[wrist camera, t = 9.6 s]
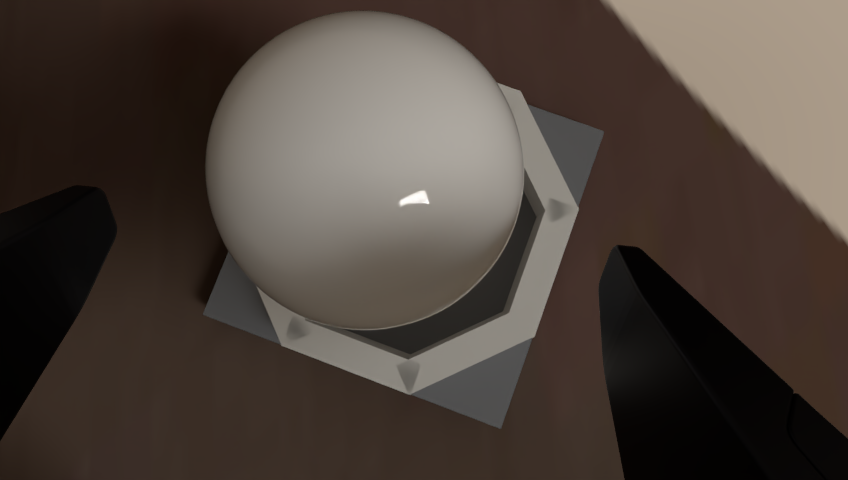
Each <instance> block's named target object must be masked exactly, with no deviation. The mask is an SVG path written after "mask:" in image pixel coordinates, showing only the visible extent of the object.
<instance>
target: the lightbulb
mask: <svg viewBox="0 0 848 480" xmlns="http://www.w3.org/2000/svg"><path fill="white" fill-rule="evenodd" d="M205 179H206V189H207V195H208V200H209V205H210V209H211V212H212V216H213V219H214V222H215V225H216V227H217V230H218V232H219V234H220V236H221V239H222V241H223V243H224V244H225V246H226V248H227V250H228V251H229V253H230V255H231V256H232V258H233V259H234V261H235V262H236V264H237V265H238V266H239V267H240V269H241V270H242V271H243V272H244V274H245V275H246V276H247V277H248V278H249V279H250V280H251V281H252V282H253V283H254V284H255V285H256V286H257V287H258V288H259V289H260V290H261V291H262V292H264V293H265V294H266V295H267V296H269V297H270V298H271V299H273V300H274V301H275V302H277V303H278V304H280V305H281V306H283V307H285V308H286V309H288V310H290V311H292V312H294V313H296V314H298V315H300V316H302V317H304V318H307V319H309V320H312V321H315V322H318V323H321V324H324V325H328V326H333V327H337V328H343V329H351V330H380V329H389V328H395V327H400V326H404V325H408V324H412V323H415V322H418V321H421V320H423V319H426V318H428V317H431V316H433V315H435V314H437V313H439V312H441V311H443V310H445V309H446V308H448V307H450V306H451V305H453V304H454V303H456V302H457V301H459V300H460V299H461V298H463V297H464V296H465V295H466V294H468V293H469V292H470V291H471V290H472V289H473V288H474V287H475V286H476V285H477V284H478V283H479V282H480V281H481V280H482V279H483V278H484V277H485V276H486V275H487V274H488V272H489V271H490V270H491V269H492V267H493V266H494V265H495V263H496V262H497V260H498V259H499V257H500V256H501V254H502V252H503V251H504V249H505V247H506V245H507V243H508V241H509V239H510V237H511V235H512V232H513V230H514V227H515V224H516V221H517V218H518V215H519V211H520V207H521V202H522V195H523V187H524V159H523V151H522V144H521V140H520V135H519V131H518V127H517V124H516V121H515V118H514V116H513V113H512V111H511V108H510V106H509V104H508V102H507V100H506V98H505V96H504V94H503V92H502V90H501V89H500V87H499V85H498V84H497V82H496V81H495V80H494V78H493V77H492V75H491V74H490V73H489V72H488V70H487V69H486V68H485V67H484V66H483V64H482V63H481V62H480V61H479V60H478V59H477V58H476V57H475V56H474V55H473V54H472V53H471V52H469V51H468V50H467V49H466V48H465V47H464V46H462V45H461V44H460V43H459V42H457V41H456V40H454V39H453V38H452V37H450V36H448V35H447V34H445V33H444V32H442V31H440V30H438V29H436V28H434V27H432V26H430V25H428V24H426V23H423V22H421V21H418V20H416V19H413V18H409V17H406V16H402V15H398V14H393V13H388V12H380V11H364V10H360V11H344V12H337V13H332V14H327V15H323V16H319V17H316V18H313V19H310V20H307V21H305V22H302V23H300V24H298V25H295V26H293V27H291V28H289V29H287V30H286V31H284V32H282V33H281V34H279V35H277V36H276V37H274V38H273V39H271V40H270V41H269V42H267V43H266V44H265V45H263V46H262V47H261V48H260V49H259V50H258V51H256V52H255V53H254V54H253V55H252V56H251V57H250V58H249V59H248V60H247V61H246V63H245V64H244V65H243V66H242V67H241V68H240V70H239V71H238V72H237V73H236V75H235V76H234V78H233V79H232V81H231V82H230V84H229V85H228V87H227V89H226V90H225V92H224V94H223V96H222V98H221V100H220V102H219V104H218V107H217V109H216V112H215V114H214V117H213V120H212V124H211V127H210V131H209V135H208V141H207V147H206V157H205Z"/></svg>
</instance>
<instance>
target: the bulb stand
mask: <svg viewBox="0 0 848 480" xmlns="http://www.w3.org/2000/svg"><path fill="white" fill-rule="evenodd" d="M497 84H498V83H497ZM498 85H499V87H500V89H501V90H502V92H503V94H504V96H505V98H506V100H507V102H508V104H509V106H510V108H511V111H512V113H513V116H514V118H515V121H516V124H517V127H518V131H519V135H520V140H521V144H522V151H523V159H524V187H523V195H522V202H521V207H520V211H519V215H518V218H517V221H516V224H515V227H514V230H513V232H512V235H511V237H510V239H509V241H508V243H507V245H506V247H505V249H504V251H503V252H502V254H501V256H500V257H499V259H498V260H497V262H496V263H495V265H494V266H493V267H492V269H491V270H490V271H489V272H488V274H487V275H486V276H485V277H484V278H483V279H482V280H481V281H480V282H479V283H478V284H477V285H476V286H475V287H474V288H473V289H472V290H471V291H470V292H469V293H468V294H466V295H465V296H464V297H463V298H461V299H460V300H459V301H457V302H456V303H454V304H453V305H451V306H450V307H448V308H446V309H445V310H443V311H441V312H439V313H437V314H435V315H433V316H431V317H428V318H426V319H423V320H421V321H418V322H415V323H412V324H408V325H404V326H400V327H395V328H389V329H380V330H351V329H343V328H337V327H333V326H328V325H324V324H321V323H318V322H315V321H312V320H309V319H307V318H304V317H302V316H300V315H298V314H296V313H294V312H292V311H290V310H288V309H286V308H285V307H283V306H281V305H280V304H278V303H277V302H275V301H274V300H273V299H271V298H270V297H269V296H267V295H266V294H265V293H264V292H262V291H261V290H260V289H259V288H258V287H257V286H256V285H255V284H254V283H253V282H252V281H251V280H250V279H249V278H248V277H247V276H246V275H245V274H244V272H243V271H242V270H241V269H240V267H239V266H238V265H237V264H236V262H235V261H234V259H233V258H232V256H231V255H230V253H229V251H228V254H227V256H226V259H225V261H224V264H223V266H222V268H221V271H220V273H219V276H218V278H217V281H216V283H215V286H214V288H213V291H212V293H211V296H210V298H209V300H208V303H207V305H206V308H205V310H204V313H203V315H205V316H208V317H210V318H213V319H216V320H218V321H221V322H223V323H226V324H229V325H231V326H234V327H236V328H239V329H242V330H244V331H247V332H249V333H252V334H255V335H257V336H260V337H262V338H265V339H268V340H270V341H273V342H275V343H278V344H281V346H284V347H287V348H289V349H292V350H294V351H297V352H300V353H302V354H305V355H307V356H310V357H313V358H315V359H318V360H320V361H323V362H326V363H328V364H331V365H333V366H336V367H339V368H341V369H344V370H346V371H349V372H352V373H354V374H357V375H359V376H362V377H365V378H367V379H370V380H373V381H375V382H378V383H380V384H383V385H386V386H388V387H391V388H393V389H396V390H399V391H401V392H404V393H406V394H409V395H410V394H411V395H414V396H416V397H419V398H421V399H424V400H427V401H429V402H432V403H435V404H437V405H440V406H442V407H445V408H448V409H450V410H453V411H455V412H458V413H461V414H463V415H466V416H468V417H471V418H474V419H476V420H479V421H481V422H484V423H487V424H489V425H492V426H494V427H497V428H500V429H501V427H502V424H503V421H504V418H505V415H506V412H507V409H508V407H509V404H510V401H511V398H512V395H513V392H514V389H515V386H516V384H517V381H518V378H519V375H520V372H521V369H522V366H523V364H524V361H525V358H526V355H527V352H528V349H529V346H530V343H531V341H532V338H533V337H534V336H535V333H536V331H537V328H538V325H539V322H540V319H541V316H542V313H543V310H544V308H545V305H546V302H547V299H548V296H549V293H550V290H551V287H552V285H553V282H554V279H555V276H556V273H557V270H558V267H559V264H560V262H561V259H562V256H563V253H564V250H565V247H566V244H567V241H568V239H569V236H570V233H571V230H572V227H573V224H574V221H575V218H576V216H577V213H578V210H579V208H578V205H579V203H580V200H581V197H582V194H583V191H584V188H585V185H586V183H587V180H588V177H589V174H590V171H591V168H592V165H593V162H594V160H595V157H596V154H597V151H598V148H599V145H600V142H601V139H602V137H603V134H604V131H602V130H599V129H596V128H593V127H590V126H587V125H584V124H582V123H579V122H576V121H573V120H570V119H567V118H565V117H562V116H559V115H556V114H553V113H550V112H547V111H545V110H542V109H539V108H536V107H533V106H530V105H528V104H527V103H526V101H525V99H524V97H523V95H522V93H521V91H518V90H516V89H513V88H510V87H507V86H504V85H501V84H498Z"/></svg>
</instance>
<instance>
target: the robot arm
mask: <svg viewBox="0 0 848 480" xmlns="http://www.w3.org/2000/svg"><path fill="white" fill-rule="evenodd" d="M116 233H117V225H116V222H115V219H114V216H113V213H112V211H111V208H110V205H109V203H108V200H107V197H106V195H105V193H104V192H103V191H102V190H101V189H100V188H98V187H90V186H81V185H76V186H72V187H69V188H67V189H64V190H62V191H59V192H56V193H54V194H51V195H49V196H46V197H43V198H41V199H38V200H36V201H33V202H30V203H28V204H25V205H23V206H20V207H17V208H15V209H12V210H10V211H7V212H4V213H2V214H0V441H1V439H2V437H3V436H4V434H5V432H6V431H7V429H8V428H9V426H10V424H11V423H12V421H13V420H14V418H15V416H16V415H17V413H18V411H19V410H20V408H21V407H22V405H23V403H24V402H25V400H26V398H27V397H28V395H29V394H30V392H31V390H32V389H33V387H34V386H35V384H36V382H37V381H38V379H39V377H40V376H41V374H42V373H43V371H44V369H45V368H46V366H47V364H48V363H49V361H50V360H51V358H52V356H53V355H54V353H55V351H56V350H57V348H58V347H59V345H60V343H61V342H62V340H63V339H64V337H65V335H66V334H67V332H68V330H69V329H70V327H71V326H72V324H73V322H74V321H75V319H76V317H77V316H78V314H79V312H80V310H81V309H82V307H83V305H84V303H85V301H86V299H87V297H88V295H89V293H90V291H91V289H92V287H93V285H94V282H95V280H96V278H97V276H98V274H99V272H100V270H101V268H102V265H103V263H104V261H105V259H106V257H107V255H108V253H109V251H110V248H111V246H112V244H113V242H114V240H115V237H116ZM599 306H600V322H601V338H602V354H603V365H604V373H605V379H606V384H607V390H608V395H609V400H610V405H611V411H612V416H613V421H614V426H615V431H616V437H617V442H618V447H619V452H620V458H621V463H622V468H623V473H624V478H625V480H848V438H847V437H845V436H844V435H843V434H842V433H841V432H840V431H839V430H838V429H836V428H835V427H834V426H833V425H832V424H831V423H830V422H829V421H827V420H826V419H825V418H824V417H823V416H822V415H821V414H820V413H819V412H817V411H816V410H815V409H814V408H813V407H812V406H811V405H810V404H809V403H808V402H807V401H805V400H804V399H803V398H802V397H801V396H800V395H799V394H797V393H795V394H793V393H794V390H793V389H792V388H791V387H790V386H789V385H788V384H787V383H786V382H785V381H784V380H783V379H781V378H780V377H779V376H778V375H777V374H776V373H775V372H774V371H773V370H772V369H771V368H770V367H768V366H767V365H766V364H765V363H764V362H763V361H762V360H761V359H760V358H759V357H758V356H757V355H755V354H754V353H753V352H752V351H751V350H750V349H749V348H748V347H747V346H746V345H745V344H744V343H742V342H741V341H740V340H739V339H738V338H737V337H736V336H735V335H734V334H733V333H732V332H731V331H729V330H728V329H727V328H726V327H725V326H724V325H723V324H722V323H721V322H720V321H719V320H718V319H716V318H715V317H714V316H713V315H712V314H711V313H710V312H709V311H708V310H707V309H706V308H705V307H703V306H702V305H701V304H700V303H699V302H698V301H697V300H696V299H695V298H694V297H693V296H692V295H690V294H689V293H688V292H687V291H686V290H685V289H684V288H683V287H682V286H681V285H680V284H679V283H677V282H676V281H675V280H674V279H673V278H672V277H671V276H670V275H669V274H668V273H667V272H666V271H664V270H663V269H662V268H661V267H660V266H659V265H658V264H657V263H656V262H655V261H654V260H653V259H651V258H650V257H649V256H648V255H647V254H646V253H645V252H644V251H643V250H642V249H640V248H638V247H633V246H624V245H617V246H615V247H613V249H612V250H611V252H610V255H609V258H608V260H607V263H606V265H605V268H604V271H603V273H602V276H601V279H600V283H599Z"/></svg>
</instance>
